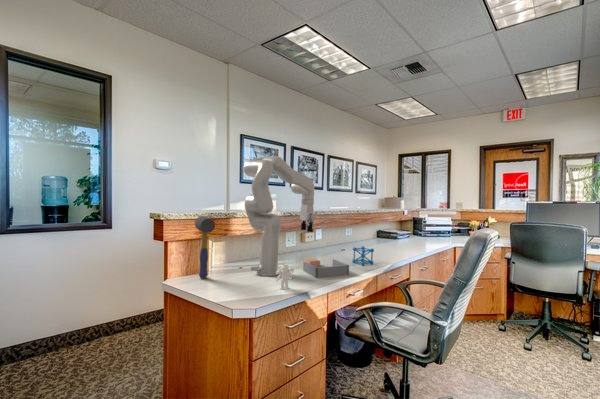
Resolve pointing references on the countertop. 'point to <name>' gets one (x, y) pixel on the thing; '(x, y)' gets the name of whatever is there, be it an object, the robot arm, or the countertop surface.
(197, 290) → the countertop surface
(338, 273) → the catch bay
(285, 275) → the flower shoulder figurine
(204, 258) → the rubber mallet
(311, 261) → the terracotta tile
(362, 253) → the molecular structure
